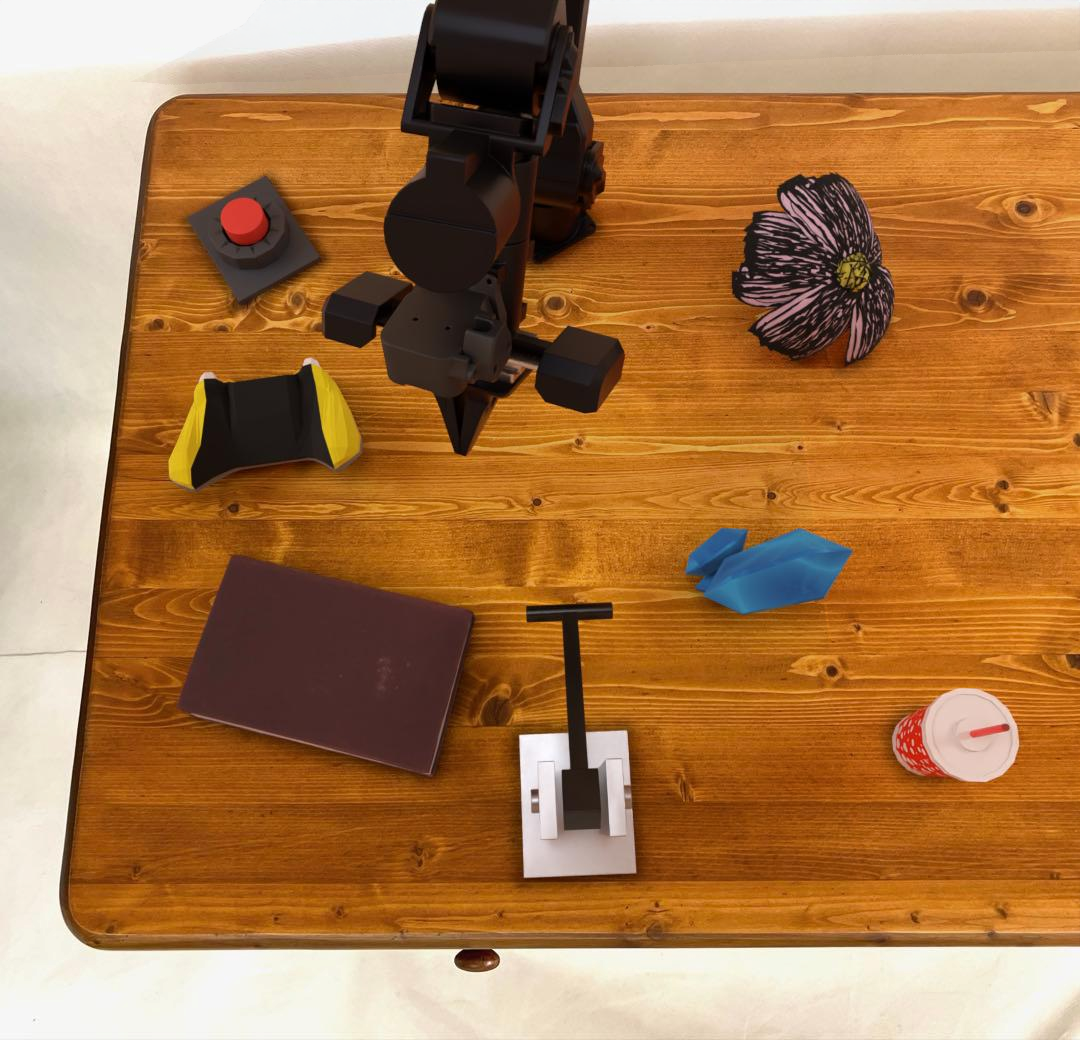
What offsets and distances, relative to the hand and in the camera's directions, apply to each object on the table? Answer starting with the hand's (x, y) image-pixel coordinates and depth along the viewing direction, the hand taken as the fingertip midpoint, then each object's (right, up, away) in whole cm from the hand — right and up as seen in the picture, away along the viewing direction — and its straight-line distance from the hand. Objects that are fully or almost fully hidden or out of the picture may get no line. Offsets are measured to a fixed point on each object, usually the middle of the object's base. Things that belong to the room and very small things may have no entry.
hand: (463, 452), depth 67 cm
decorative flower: (+28, +14, +17) cm, 36 cm away
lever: (+8, -17, -3) cm, 19 cm away
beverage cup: (+34, -21, +6) cm, 40 cm away
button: (-20, +21, +18) cm, 34 cm away
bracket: (+8, -25, +5) cm, 27 cm away
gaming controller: (-17, +2, +14) cm, 22 cm away
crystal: (+22, -9, +10) cm, 26 cm away
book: (-10, -16, +9) cm, 21 cm away
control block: (-20, +20, +20) cm, 34 cm away
